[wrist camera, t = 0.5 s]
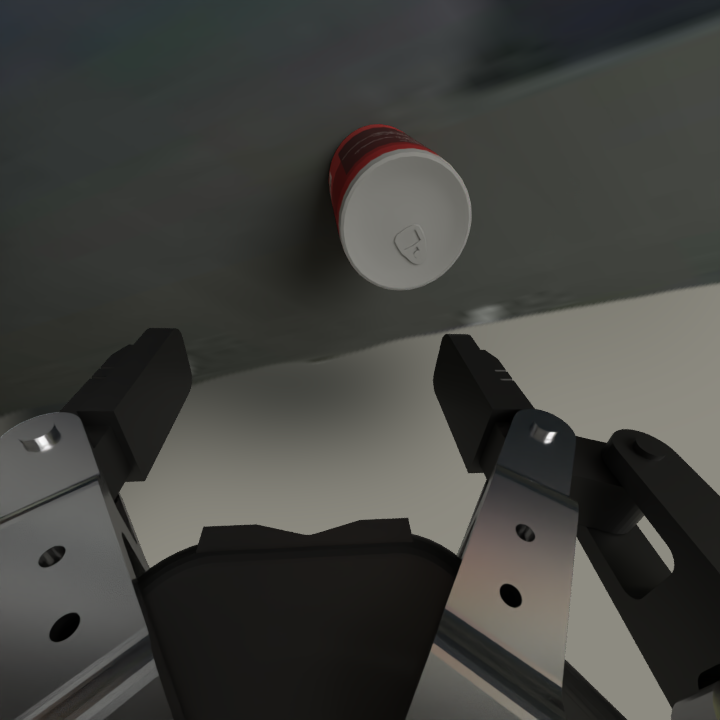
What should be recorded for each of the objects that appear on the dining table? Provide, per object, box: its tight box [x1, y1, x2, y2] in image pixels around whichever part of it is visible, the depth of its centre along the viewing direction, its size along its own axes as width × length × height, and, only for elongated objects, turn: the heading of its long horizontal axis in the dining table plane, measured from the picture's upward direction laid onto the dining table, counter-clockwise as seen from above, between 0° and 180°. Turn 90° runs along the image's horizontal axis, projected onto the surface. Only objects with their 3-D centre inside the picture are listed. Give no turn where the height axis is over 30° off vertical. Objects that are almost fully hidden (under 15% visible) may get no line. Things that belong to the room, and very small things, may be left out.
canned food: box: [329, 124, 471, 290], centre depth 24 cm, size 8×8×11 cm
